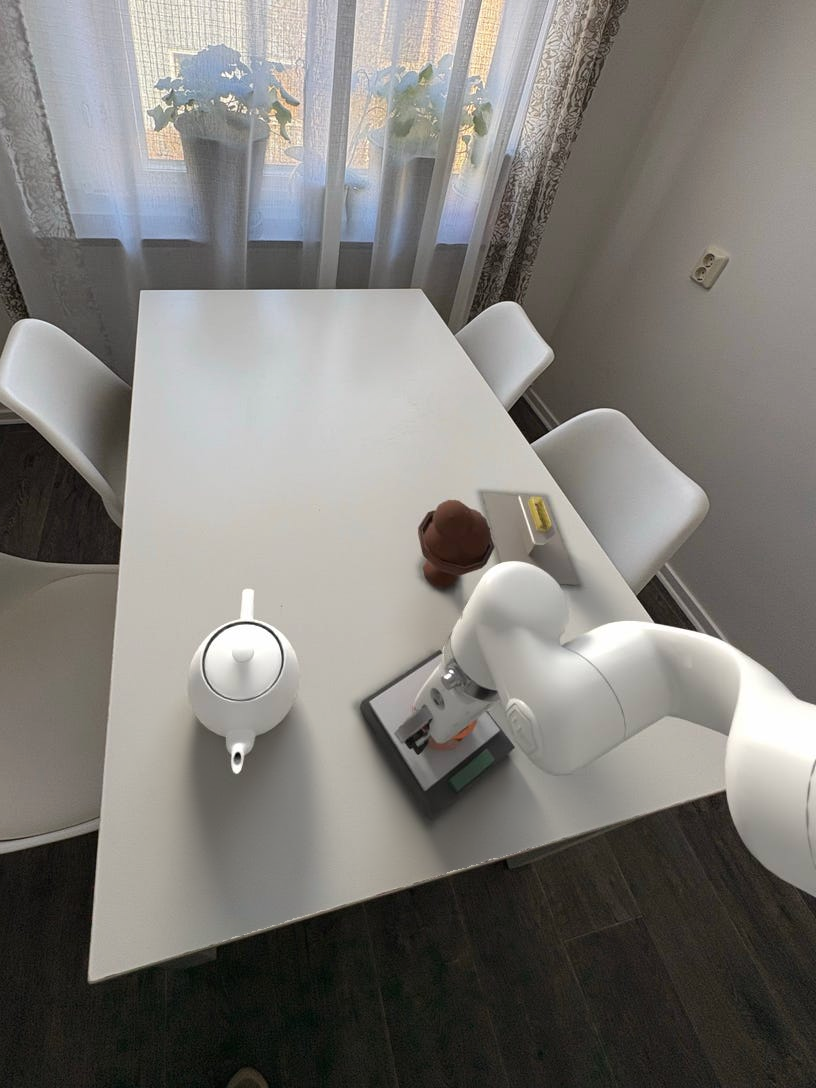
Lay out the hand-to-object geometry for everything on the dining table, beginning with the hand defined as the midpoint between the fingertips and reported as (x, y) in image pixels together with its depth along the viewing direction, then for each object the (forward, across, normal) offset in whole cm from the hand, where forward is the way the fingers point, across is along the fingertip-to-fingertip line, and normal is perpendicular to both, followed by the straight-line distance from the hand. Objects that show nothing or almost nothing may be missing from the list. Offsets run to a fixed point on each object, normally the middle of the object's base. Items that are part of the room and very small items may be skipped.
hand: (441, 719), depth 63 cm
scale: (+4, 0, 0) cm, 4 cm away
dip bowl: (+1, 0, 0) cm, 1 cm away
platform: (+4, +34, +15) cm, 37 cm away
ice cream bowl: (+4, +16, +17) cm, 24 cm away
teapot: (+4, -18, +16) cm, 25 cm away
